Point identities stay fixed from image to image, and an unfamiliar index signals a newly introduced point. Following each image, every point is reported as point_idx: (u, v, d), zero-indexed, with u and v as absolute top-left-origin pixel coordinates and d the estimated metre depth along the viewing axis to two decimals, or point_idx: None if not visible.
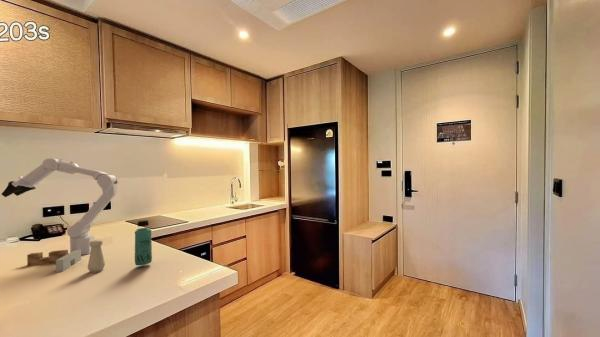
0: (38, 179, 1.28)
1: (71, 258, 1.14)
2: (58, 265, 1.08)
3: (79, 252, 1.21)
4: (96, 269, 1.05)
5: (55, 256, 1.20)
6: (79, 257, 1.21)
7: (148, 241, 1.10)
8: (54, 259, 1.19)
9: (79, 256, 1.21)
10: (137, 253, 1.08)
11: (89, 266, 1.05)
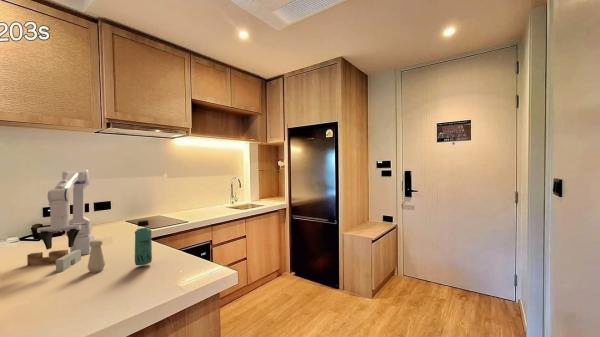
0: None
1: (71, 258, 1.14)
2: (58, 265, 1.08)
3: (79, 252, 1.21)
4: (96, 269, 1.05)
5: (55, 256, 1.20)
6: (79, 257, 1.21)
7: (148, 241, 1.10)
8: (54, 259, 1.19)
9: (79, 256, 1.21)
10: (137, 253, 1.08)
11: (89, 266, 1.05)
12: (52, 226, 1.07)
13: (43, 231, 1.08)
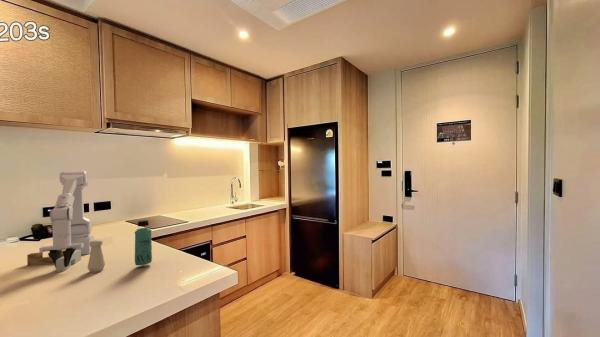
0: None
1: (71, 258, 1.14)
2: (58, 265, 1.08)
3: (79, 252, 1.21)
4: (96, 269, 1.05)
5: None
6: (79, 257, 1.21)
7: (148, 241, 1.10)
8: None
9: (79, 256, 1.21)
10: (137, 253, 1.08)
11: (89, 266, 1.05)
12: (54, 245, 1.07)
13: (45, 250, 1.08)
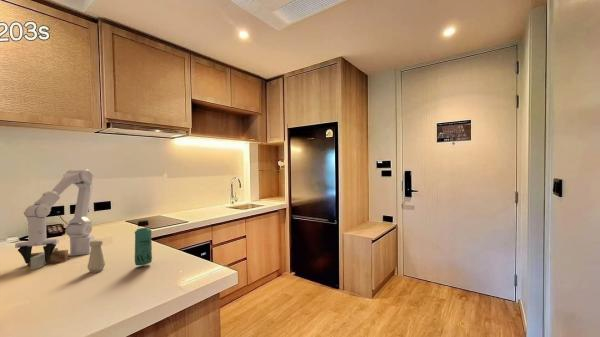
0: None
1: None
2: (33, 263, 1.12)
3: (56, 250, 1.25)
4: (96, 269, 1.05)
5: (55, 256, 1.20)
6: None
7: (148, 241, 1.10)
8: (54, 259, 1.19)
9: None
10: (137, 253, 1.08)
11: (89, 266, 1.05)
12: (30, 241, 1.12)
13: (21, 246, 1.12)
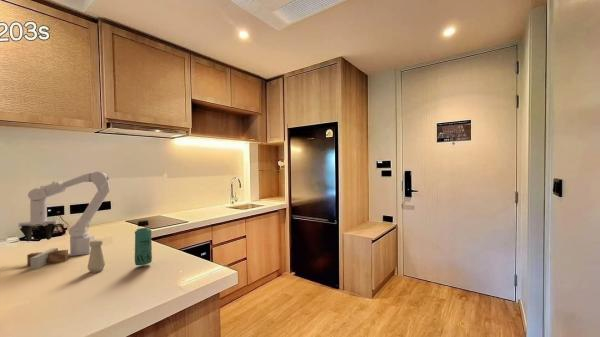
0: None
1: (47, 256, 1.19)
2: (33, 263, 1.12)
3: (56, 250, 1.25)
4: (96, 269, 1.05)
5: (55, 256, 1.20)
6: None
7: (148, 241, 1.10)
8: (54, 259, 1.19)
9: None
10: (137, 253, 1.08)
11: (89, 266, 1.05)
12: (32, 221, 1.23)
13: (24, 225, 1.24)
